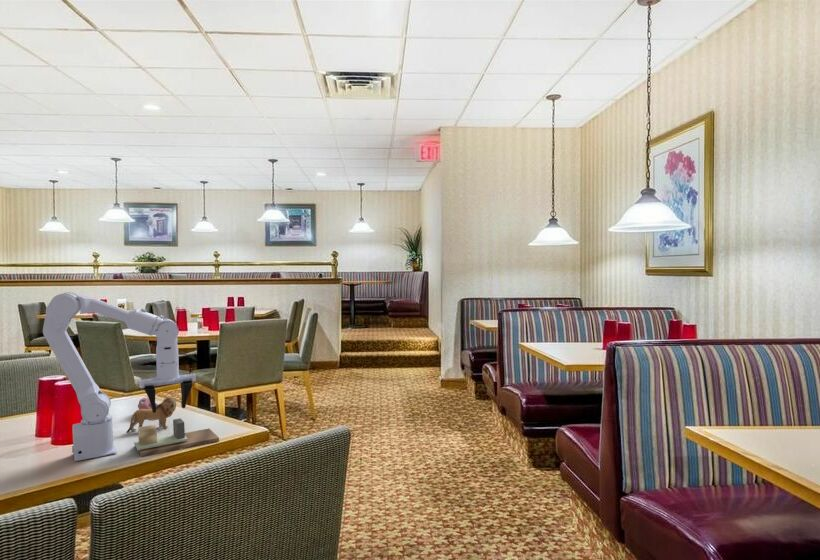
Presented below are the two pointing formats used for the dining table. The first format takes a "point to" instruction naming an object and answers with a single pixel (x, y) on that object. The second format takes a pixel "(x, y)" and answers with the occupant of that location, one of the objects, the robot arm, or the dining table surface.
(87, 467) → the dining table surface
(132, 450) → the dining table surface
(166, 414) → the lion figurine
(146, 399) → the pink purple rounded lump
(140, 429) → the cube
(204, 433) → the board
